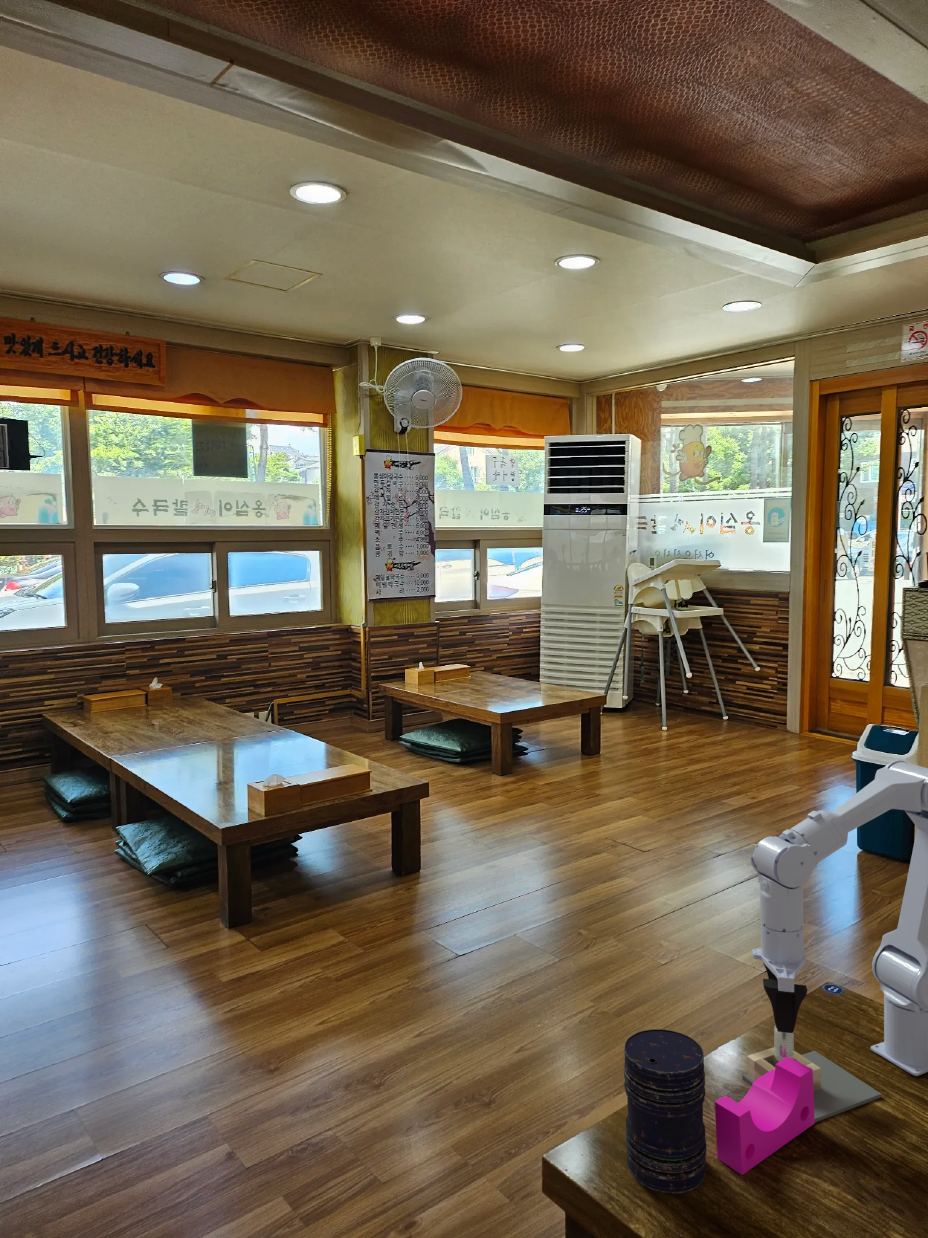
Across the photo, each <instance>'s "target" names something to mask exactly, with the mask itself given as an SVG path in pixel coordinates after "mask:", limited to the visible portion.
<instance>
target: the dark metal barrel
mask: <svg viewBox="0 0 928 1238" xmlns="http://www.w3.org/2000/svg"><path fill="white" fill-rule="evenodd" d="M623 1046H624V1052H623V1053H624V1065H623V1073H624V1075H623V1078H624V1082H623V1083H624V1084H623V1086H624V1091H625V1094H626V1097H627V1115H626V1118H625V1134H624V1135H625V1146H626V1164H627V1169H628V1171H629V1173H630V1174H631V1176H632V1177H633V1178H634V1179H635V1181H637V1182H639V1184H641V1185H643V1186H644V1187H646V1188H648V1189H650V1190H653V1191H654V1192H655V1191H656V1192H659V1193H664V1194H683V1193H686V1192H690V1191H693V1190H695V1189H697V1188H698V1187H699V1186H700V1185H701V1184H702V1183H703V1182H704V1181H705V1177H706V1175H707V1174H706V1173H707V1169H706V1168H707V1167H706V1160H707V1157H706V1156H707V1139H706V1126H705V1124H704V1123H705V1122H704V1113H703V1112H704V1102H705V1098H706V1087H705V1086H706V1073H705V1064H704V1063H705V1062H704V1061H705V1055H704V1054H705V1053H704V1049H703V1047H702V1046H701V1045H700V1043H698V1042H697V1040H695V1039H694V1038H693V1037H690V1036H689V1035H686V1034H684V1033H682V1032H679V1031H674V1030H671V1029H669V1030H668V1029H661V1028H659V1029H658V1028H655V1029H654V1028H653V1029H651V1028H650V1029H646V1030H641V1031H638V1032H635V1033H633V1034H631V1036H629V1037H628V1038H627V1039H626V1041H625V1042H624V1045H623Z"/></svg>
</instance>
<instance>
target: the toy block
mask: <svg viewBox="0 0 928 1238" xmlns="http://www.w3.org/2000/svg"><path fill="white" fill-rule="evenodd" d="M714 1112H715V1114H714V1115H715V1118H714V1119H715V1134H716V1135H715V1139H716V1157H717V1160H718V1161H720V1162H722V1163H723V1164H725V1165H726V1166H728V1167H730V1168H731V1169H732V1170H734V1171H735V1172H737V1173H738V1174H739V1175H741V1176H742V1175H744V1174H746V1173H747V1172H748V1171H750V1170H751V1169H752V1168H754V1167H756V1166H757V1165H758V1164H760V1163H761V1162H763V1161H764V1160H765V1159H767V1158H768V1157H770V1156H771V1155H772V1154H774V1153H775V1152H776V1151H778V1150H780V1149H781V1148H782V1147H783V1146H785V1145H787V1144H788V1143H789V1142H790V1141H792V1140H793V1139H795V1138H796V1137H798V1136H799V1135H801V1134H802V1133H803V1132H805V1131H806V1130H808V1128H810V1127H812V1126H813V1125H814V1124H815V1123H816V1122H815V1119H814V1092H813V1069H811V1068H809V1067H807V1066H805V1065H803V1064H802V1063H800V1062H798V1061H796V1060H794V1059H792V1058H790V1057H786V1058H785V1059H783V1060H781V1061H780V1062H778V1063H776V1064H775V1070H773V1069H772V1070H771V1071H769V1072H768V1073H766V1074H764V1075H763V1076H761V1077H760V1078H758V1079H756V1080H755V1081H754V1082H753V1084H752V1085H751V1087H750V1088H749V1090H748V1091H747V1093H746V1094H745V1095H744V1096H743V1098H742V1099H740V1100H739V1101H738V1102H737V1101H736V1100H734V1099H732V1098H730V1097H729V1096H728V1095H723V1096H722V1097H720V1098H719V1099H716V1100H715V1101H714Z"/></svg>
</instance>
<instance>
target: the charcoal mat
mask: <svg viewBox="0 0 928 1238" xmlns="http://www.w3.org/2000/svg"><path fill="white" fill-rule="evenodd" d="M801 1055H802V1056H803V1057H805V1058H806V1059H808V1060H809V1061H811V1062H812V1063H814V1064H815V1065H817V1066H818V1067H820V1068H821V1089H819V1090H817V1091H814V1119H815V1123H818V1122H820V1121H822V1120H825V1119H828V1118H831V1117H834V1116H836V1115H839V1114H841V1113H843V1112H847V1111H849V1110H851V1109H854V1108H856V1107H859V1106H862V1105H865V1104H867V1103H870V1102H873V1101H875V1100H877V1099H880V1098H882V1093H881V1092H879V1091H877V1090H876V1088H873V1087H872V1086H870V1085H869V1084H867V1083H865V1082H864V1081H862V1080H861V1079H860V1078H858V1077H856V1076H855V1075H854V1074H852V1073H850V1072H849V1071H847V1070H845V1069H844V1068H842V1067H841V1066H839V1065H838V1064H836V1063H834V1062H833V1061H832V1060H830V1059H828V1058H827V1057H825V1056H823V1054H821V1053H819V1052H818V1051H816V1050H812V1051H809V1052H807V1053H806V1052H805V1053H803V1054H801ZM741 1077H742V1079H743V1080H744V1081H745V1082H746V1083H748V1084H749V1085H751V1086H752V1084H753V1082H754V1081H753V1080H752V1079H751V1078H750V1077H748V1076H747V1073H743V1074H742V1075H741Z"/></svg>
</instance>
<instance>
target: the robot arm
mask: <svg viewBox="0 0 928 1238" xmlns="http://www.w3.org/2000/svg"><path fill="white" fill-rule="evenodd" d="M890 810H900V811H904V812H905V813H906V815H907V816H908V818H909V819H910V820H911V821H912V823H913V824H914V825H915V826H916V833H915V838H914V843H913V847H912V854H911V858H910V862H909V863H910V864H909V869H908V872H907V879H906V883H905V888H904V891H903V892H904V893H903V897H902V903H901V909H900V913H899V914H900V915H899V918H898V922H897V923H898V924H897V927H896V929H894V930H891V931H888V932H886V933H885V934H883V935H882V937H881V938H882V939H881V942H880V946H879V947H878V949H877V951H875V954H874V956H873V959H872V963H871V969H872V971H871V972H872V974H873V976H874V978H875V979H876V980H877V981H878V982H879V983H880V991H882V993H883V1019H884V1020H883V1021H884V1022H883V1029H884V1030H883V1031H884V1033H883V1036H884V1037H883V1039H884V1041H882V1042H879V1043H877V1044H874V1045H871V1046H870V1050H871V1051H872V1052H874V1053H875V1054H877V1055H879V1056H881V1058H884V1059H885V1060H887V1061H889V1062H891V1063H892V1064H893V1065H896V1066H897V1067H899V1068H901V1069H902V1070H904V1071H905V1072H907V1073H908V1074H911V1075H912V1076H914V1077H919V1076H921V1075H923V1074H926V1073H928V767H924V766H920V765H917V764H913V763H909V762H907V761H905V760H901V759H895V760H892V761H890V762H888V763H887V764H886V765H885V766H884V767H882V768H879V769H877V770H876V772H875V775H874V779H873V780H872V781H870V782H869V783H868V784H867V785H865V786H864V787H863V788H862V789H860V790H859V791H858V792H856V793H855V794H854V795H853V796H851V797H849V798H848V799H847V800H846V801H845V802H843V803H842V804H841V805H840V806H838V807H837V808H836V809H834V810H833V811H832V812H831V811H827V810H822V809H821V810H817V811H816V810H812V811H810V812H809V813H808V814H807V818H805V819H803V820H801V821H800V822H798V823H797V824H796V825H794V826H792V827H790V829H788V828H787V829H785V830H784V831H782V833H781V834H779V836H776V835H773V836H772V835H770V836H767V837H764V838H763V839H762V840H760V841H759V842H757V844H756V845H755V847H754V850H753V854H752V855H750V857H749V859H750V863H751V866H752V868H753V870H755V872H756V874H757V883H758V884H759V901H760V902H759V903H760V904H759V905H760V906H759V909H760V911H759V913H760V914H759V915H760V916H759V917H760V948H752V950H751V951H752V952H751V953H752V959H755V960H758V961H759V960H760V961H761V962H762V963H763V964H762V965H764V968H765V970H766V974H767V977H768V978H762V985H763V988H764V989H763V990H764V991H765V994H766V995H767V996H768V999H769V1001H770V1004H771V1008H772V1013H773V1017H774V1018H773V1019H774V1023H775V1024H774V1026H775V1025H776V1028H777V1031H778V1032H786V1033H793V1032H794V1031H795V1028H796V1023H797V1018H798V1013H799V1011H800V1007H801V1006H802V1005H801V1004H802V1003H803V1001H804V999H805V998H807V997H806V996H807V994H808V987H807V985H806V984H796V983H795V978H796V977H797V976H798V974H799V973H800V971H801V970H802V969H803V968H804V966H805V964H806V955H805V954H804V953H805V950H804V949H805V947H804V946H805V945H804V943H805V941H804V940H805V939H804V936H805V935H804V885H806V884H807V882H808V881H809V880H810V879H811V876H812V874H813V872H814V869H815V868H817V867H818V866H817V865H818V864H819V863H820V862H823V860H825V859H826V858H829V856H831V855H832V854H834V853H835V852H837V851H839V850H841V848H843V847H844V846H846V845H847V842H848V838H849V837H848V836H849V833H850V832H853V831H854V830H855V829H857V828H859V827H861V826H863V825H865V824H866V823H868V822H870V821H872V820H874V819H876V818H878V817H879V816H881V815H883V814H884V813H886V812H888V811H890Z"/></svg>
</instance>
